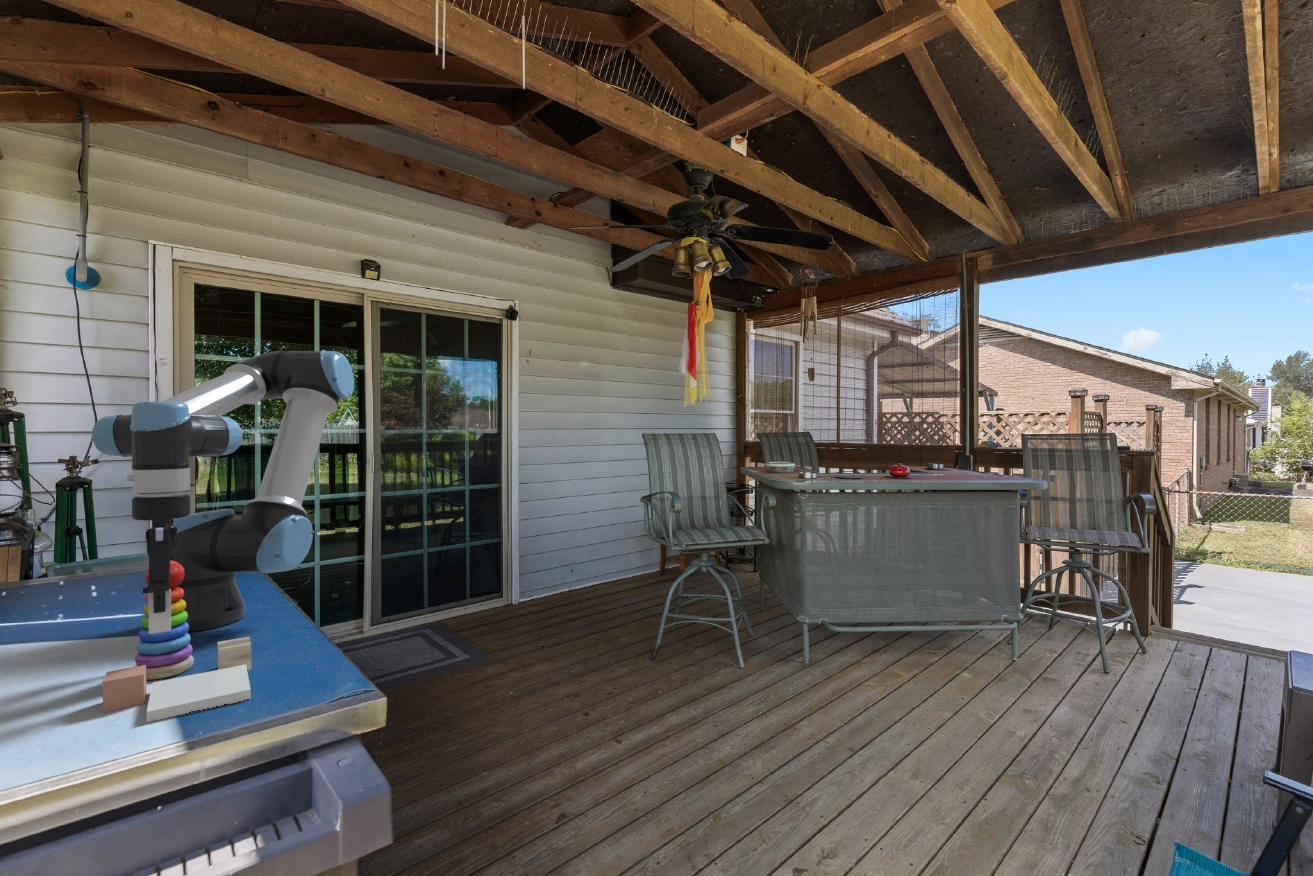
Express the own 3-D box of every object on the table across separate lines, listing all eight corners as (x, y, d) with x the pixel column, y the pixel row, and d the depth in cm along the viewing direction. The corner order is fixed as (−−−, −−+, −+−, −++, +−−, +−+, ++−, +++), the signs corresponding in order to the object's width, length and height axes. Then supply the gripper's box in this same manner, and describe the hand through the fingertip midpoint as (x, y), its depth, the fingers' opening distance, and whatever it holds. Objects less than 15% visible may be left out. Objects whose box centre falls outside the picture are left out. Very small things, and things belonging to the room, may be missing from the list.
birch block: (217, 668, 103) (217, 642, 103) (249, 662, 106) (249, 636, 105) (218, 677, 99) (218, 649, 99) (251, 670, 102) (250, 644, 102)
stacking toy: (126, 685, 96) (124, 568, 95) (141, 667, 103) (139, 558, 102) (188, 676, 99) (186, 563, 99) (198, 659, 106) (196, 553, 106)
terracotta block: (107, 701, 90) (106, 671, 90) (146, 693, 93) (146, 664, 93) (103, 713, 87) (102, 682, 87) (144, 704, 89) (143, 674, 89)
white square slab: (152, 692, 93) (152, 682, 93) (246, 673, 100) (246, 664, 100) (146, 722, 84) (146, 711, 84) (250, 699, 91) (250, 689, 91)
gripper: (138, 489, 108) (139, 607, 108) (123, 502, 88) (124, 647, 88) (191, 487, 113) (192, 600, 113) (188, 499, 93) (189, 636, 93)
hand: (162, 621), depth 101 cm, fingers open, 13 cm apart
